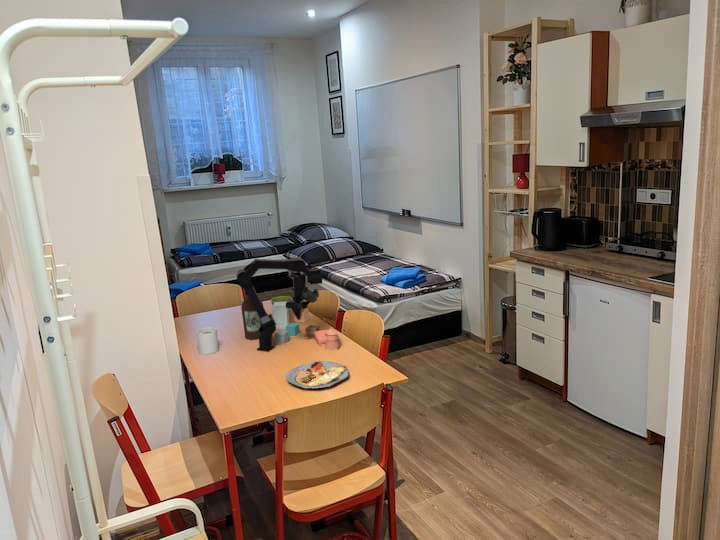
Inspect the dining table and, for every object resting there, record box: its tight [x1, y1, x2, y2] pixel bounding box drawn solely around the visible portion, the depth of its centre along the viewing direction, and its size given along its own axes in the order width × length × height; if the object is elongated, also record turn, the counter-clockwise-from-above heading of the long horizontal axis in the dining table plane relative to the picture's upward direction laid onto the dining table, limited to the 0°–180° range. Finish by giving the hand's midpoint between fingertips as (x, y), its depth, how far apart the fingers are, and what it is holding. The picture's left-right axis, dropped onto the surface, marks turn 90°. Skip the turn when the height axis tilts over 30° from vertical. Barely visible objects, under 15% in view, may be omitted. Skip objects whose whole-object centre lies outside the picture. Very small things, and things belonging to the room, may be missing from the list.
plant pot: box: [270, 295, 293, 319], centre depth 297 cm, size 12×12×11 cm
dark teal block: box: [285, 322, 301, 337], centre depth 273 cm, size 5×5×5 cm
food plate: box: [285, 360, 350, 389], centre depth 221 cm, size 25×23×4 cm
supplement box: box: [272, 302, 291, 330], centre depth 284 cm, size 7×7×13 cm
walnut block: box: [305, 324, 321, 339], centre depth 269 cm, size 5×5×5 cm
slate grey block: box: [274, 329, 290, 345], centre depth 263 cm, size 5×5×5 cm
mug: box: [196, 327, 220, 355], centre depth 255 cm, size 11×10×10 cm
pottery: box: [314, 327, 340, 351], centre depth 258 cm, size 18×10×10 cm, turn 19°
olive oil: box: [241, 286, 265, 341], centre depth 269 cm, size 11×11×25 cm
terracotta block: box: [293, 308, 310, 323], centre depth 256 cm, size 5×5×5 cm
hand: (301, 317), depth 257 cm, fingers closed on terracotta block, 5 cm apart
